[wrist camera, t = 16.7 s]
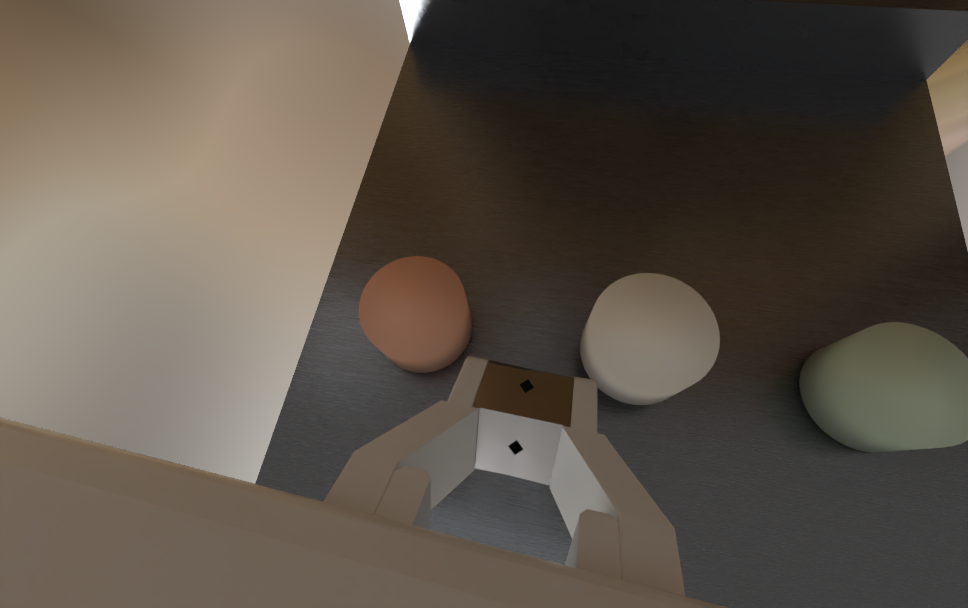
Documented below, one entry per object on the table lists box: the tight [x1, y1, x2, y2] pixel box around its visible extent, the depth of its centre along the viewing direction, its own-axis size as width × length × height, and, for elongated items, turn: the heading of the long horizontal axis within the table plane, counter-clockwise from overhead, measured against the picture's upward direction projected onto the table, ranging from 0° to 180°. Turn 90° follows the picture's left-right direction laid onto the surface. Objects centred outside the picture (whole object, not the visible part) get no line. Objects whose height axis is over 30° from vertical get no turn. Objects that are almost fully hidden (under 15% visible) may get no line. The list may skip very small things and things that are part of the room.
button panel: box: [255, 0, 968, 608], centre depth 25 cm, size 12×32×33 cm, turn 94°
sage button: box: [799, 322, 968, 452], centre depth 18 cm, size 3×5×5 cm, turn 94°
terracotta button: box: [359, 256, 472, 373], centre depth 21 cm, size 3×5×5 cm, turn 94°
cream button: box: [580, 273, 720, 405], centre depth 18 cm, size 3×5×5 cm, turn 94°
